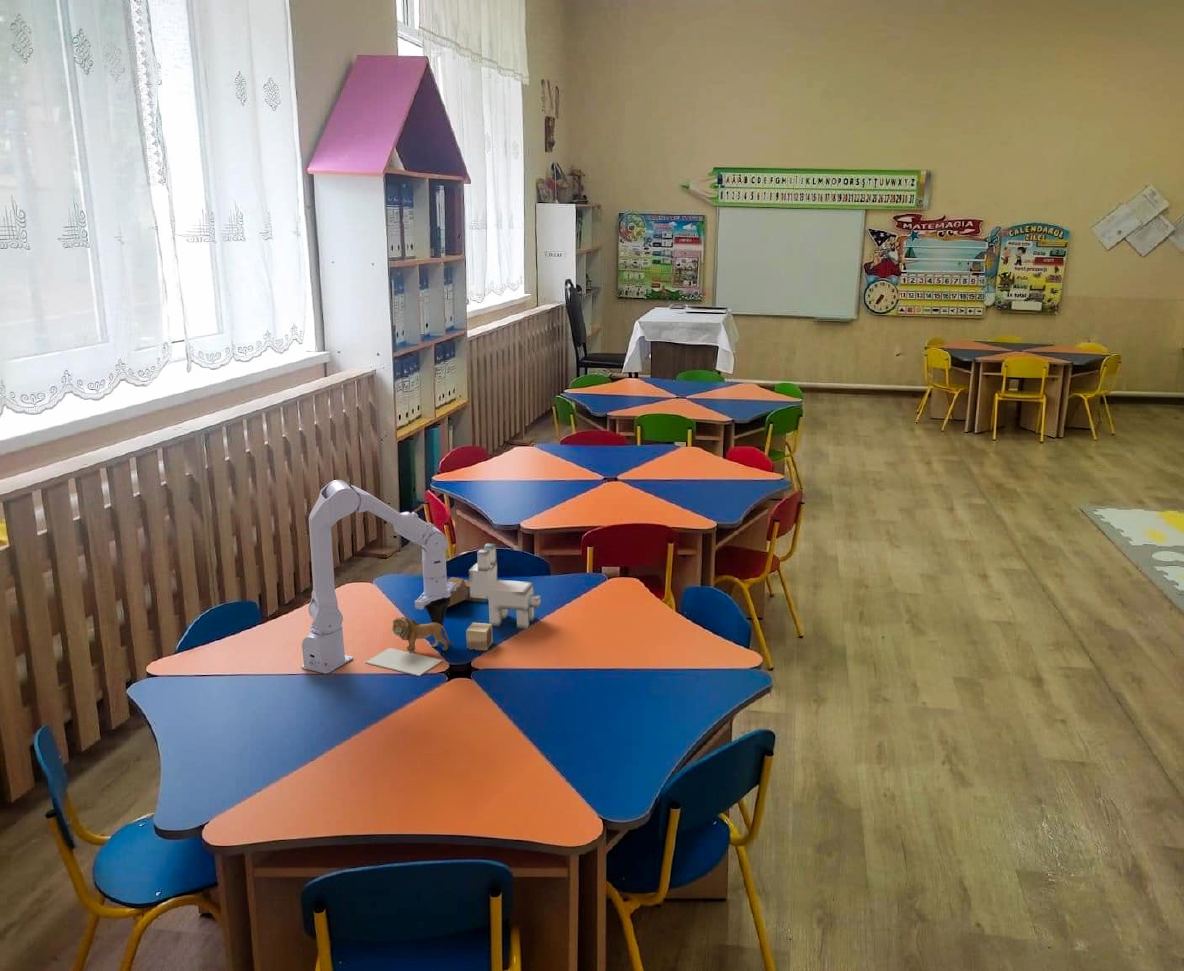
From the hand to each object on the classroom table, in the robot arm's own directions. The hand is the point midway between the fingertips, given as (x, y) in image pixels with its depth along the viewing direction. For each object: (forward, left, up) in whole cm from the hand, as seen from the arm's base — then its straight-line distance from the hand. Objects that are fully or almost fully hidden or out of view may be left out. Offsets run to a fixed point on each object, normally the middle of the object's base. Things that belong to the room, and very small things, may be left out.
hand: (437, 626), depth 243 cm
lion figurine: (-7, 0, -4) cm, 8 cm away
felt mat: (-14, 0, -4) cm, 14 cm away
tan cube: (+2, -11, -4) cm, 12 cm away
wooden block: (+24, +10, -4) cm, 27 cm away
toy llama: (+18, -9, -4) cm, 21 cm away
